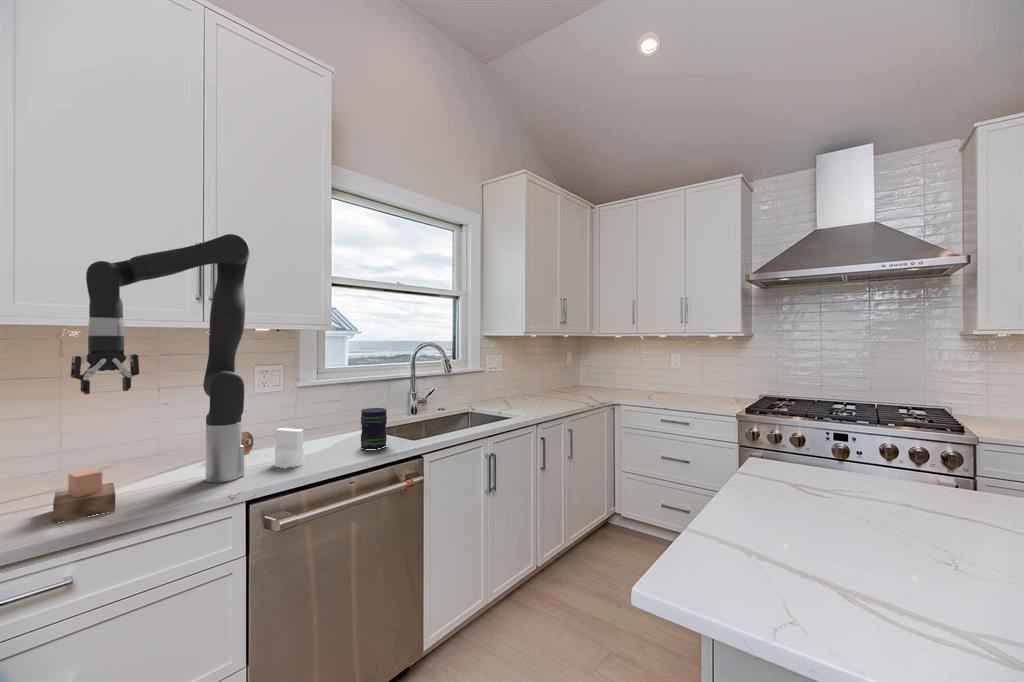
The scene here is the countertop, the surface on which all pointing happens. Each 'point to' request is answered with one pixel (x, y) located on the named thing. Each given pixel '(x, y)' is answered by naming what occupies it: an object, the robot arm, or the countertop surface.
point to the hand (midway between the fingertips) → (106, 392)
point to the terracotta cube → (84, 482)
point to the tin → (246, 441)
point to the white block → (289, 447)
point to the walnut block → (83, 504)
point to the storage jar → (373, 428)
